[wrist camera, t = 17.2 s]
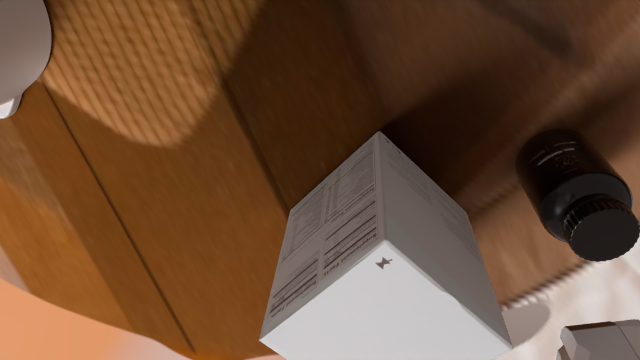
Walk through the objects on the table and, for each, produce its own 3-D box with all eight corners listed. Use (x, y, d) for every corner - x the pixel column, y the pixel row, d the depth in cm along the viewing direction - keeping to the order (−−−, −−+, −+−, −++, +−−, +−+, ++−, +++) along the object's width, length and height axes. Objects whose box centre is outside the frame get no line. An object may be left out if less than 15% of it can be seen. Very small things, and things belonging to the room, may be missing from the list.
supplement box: (286, 210, 51) (252, 340, 36) (378, 126, 45) (386, 237, 30) (375, 282, 54) (380, 428, 39) (470, 213, 49) (518, 350, 34)
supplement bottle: (541, 115, 44) (597, 180, 33) (606, 143, 44) (681, 216, 34) (499, 176, 47) (537, 254, 36) (560, 202, 48) (615, 284, 37)
